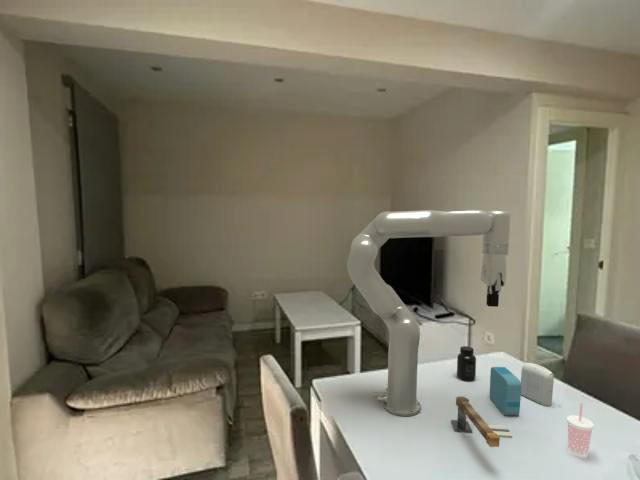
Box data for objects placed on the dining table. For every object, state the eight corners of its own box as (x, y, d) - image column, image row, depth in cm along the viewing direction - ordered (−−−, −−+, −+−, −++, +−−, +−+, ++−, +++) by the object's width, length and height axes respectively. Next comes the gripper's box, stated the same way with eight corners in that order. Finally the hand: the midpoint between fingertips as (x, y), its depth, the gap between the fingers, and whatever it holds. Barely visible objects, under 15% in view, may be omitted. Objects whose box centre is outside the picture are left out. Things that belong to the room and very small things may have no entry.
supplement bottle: (476, 376, 152) (478, 347, 150) (473, 383, 146) (474, 352, 145) (458, 372, 155) (460, 343, 154) (454, 379, 149) (456, 349, 148)
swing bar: (454, 403, 118) (454, 395, 118) (465, 403, 118) (465, 395, 118) (487, 446, 97) (488, 438, 97) (501, 446, 97) (502, 437, 97)
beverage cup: (566, 442, 110) (569, 395, 109) (592, 451, 106) (596, 403, 105) (562, 453, 105) (566, 404, 104) (590, 462, 102) (594, 412, 100)
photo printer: (554, 404, 131) (556, 369, 130) (547, 407, 129) (549, 372, 128) (524, 391, 140) (526, 358, 139) (517, 394, 138) (519, 361, 136)
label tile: (487, 436, 113) (487, 433, 113) (482, 426, 118) (482, 424, 118) (512, 437, 112) (512, 435, 112) (506, 428, 117) (506, 425, 117)
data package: (519, 417, 123) (521, 381, 122) (505, 417, 123) (507, 381, 122) (501, 398, 135) (503, 365, 134) (488, 398, 135) (490, 365, 134)
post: (454, 431, 115) (455, 409, 114) (451, 422, 120) (451, 401, 119) (472, 432, 114) (473, 411, 114) (467, 423, 119) (468, 402, 119)
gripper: (476, 246, 130) (473, 299, 132) (490, 252, 116) (487, 311, 117) (499, 247, 129) (496, 300, 131) (516, 252, 115) (513, 312, 116)
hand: (492, 305), depth 124 cm, fingers closed
